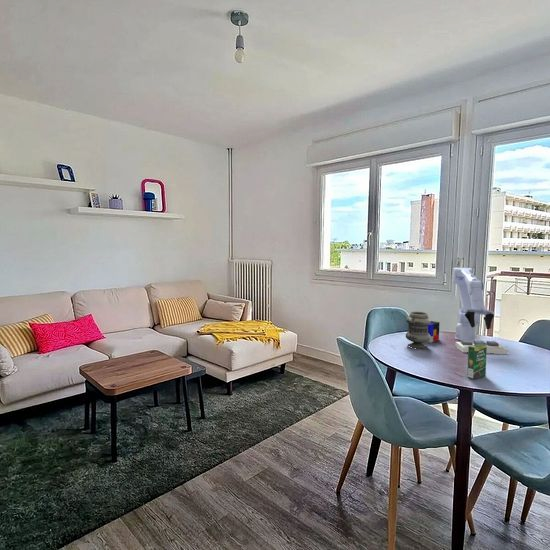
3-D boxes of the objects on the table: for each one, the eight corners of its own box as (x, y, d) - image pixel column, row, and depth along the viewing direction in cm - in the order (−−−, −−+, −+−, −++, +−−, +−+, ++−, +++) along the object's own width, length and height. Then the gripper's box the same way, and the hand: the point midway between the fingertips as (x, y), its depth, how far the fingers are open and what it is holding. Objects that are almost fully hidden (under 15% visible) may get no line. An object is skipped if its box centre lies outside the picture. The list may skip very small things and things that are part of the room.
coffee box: (473, 380, 138) (474, 347, 137) (466, 377, 141) (467, 345, 140) (486, 376, 142) (487, 344, 141) (479, 374, 144) (480, 342, 143)
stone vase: (410, 350, 178) (411, 315, 176) (401, 343, 190) (402, 310, 188) (434, 350, 178) (435, 314, 176) (423, 343, 190) (425, 310, 188)
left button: (463, 347, 178) (464, 342, 178) (461, 344, 182) (461, 340, 182) (472, 347, 177) (472, 342, 177) (469, 345, 181) (469, 340, 181)
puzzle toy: (430, 343, 191) (430, 324, 191) (412, 339, 199) (413, 321, 198) (438, 339, 198) (439, 322, 197) (421, 336, 205) (422, 319, 205)
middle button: (476, 347, 177) (477, 342, 177) (473, 345, 181) (473, 340, 181) (485, 347, 176) (485, 343, 176) (482, 345, 180) (482, 340, 180)
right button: (489, 348, 176) (490, 343, 176) (486, 345, 180) (486, 341, 180) (498, 348, 175) (498, 343, 175) (494, 346, 179) (495, 341, 179)
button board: (462, 352, 174) (462, 346, 174) (455, 346, 184) (455, 341, 184) (506, 354, 171) (507, 348, 171) (497, 348, 181) (497, 342, 181)
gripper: (467, 297, 177) (470, 323, 172) (496, 301, 177) (500, 327, 172) (460, 302, 184) (462, 327, 178) (488, 306, 184) (491, 331, 178)
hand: (480, 327), depth 175 cm, fingers open, 7 cm apart
